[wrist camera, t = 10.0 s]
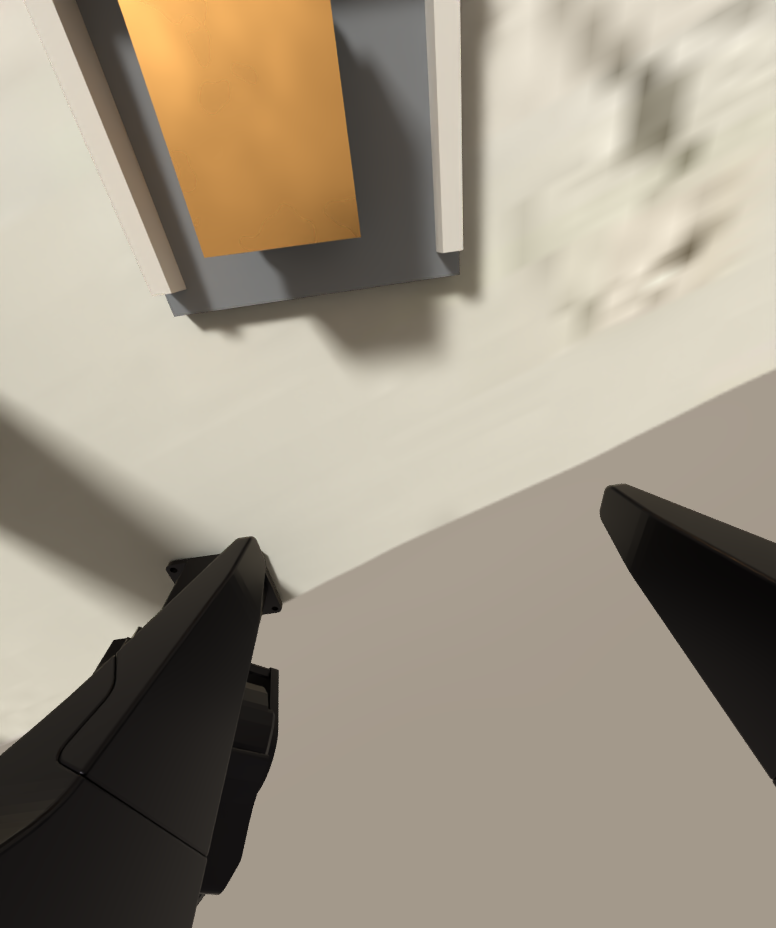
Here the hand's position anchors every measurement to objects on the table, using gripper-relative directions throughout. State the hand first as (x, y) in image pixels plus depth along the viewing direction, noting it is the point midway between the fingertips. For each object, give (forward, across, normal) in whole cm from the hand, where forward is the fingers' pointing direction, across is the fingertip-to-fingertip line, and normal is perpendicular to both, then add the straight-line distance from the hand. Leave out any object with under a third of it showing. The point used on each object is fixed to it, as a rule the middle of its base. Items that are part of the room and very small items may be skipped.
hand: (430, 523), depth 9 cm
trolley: (+11, +3, -10) cm, 15 cm away
